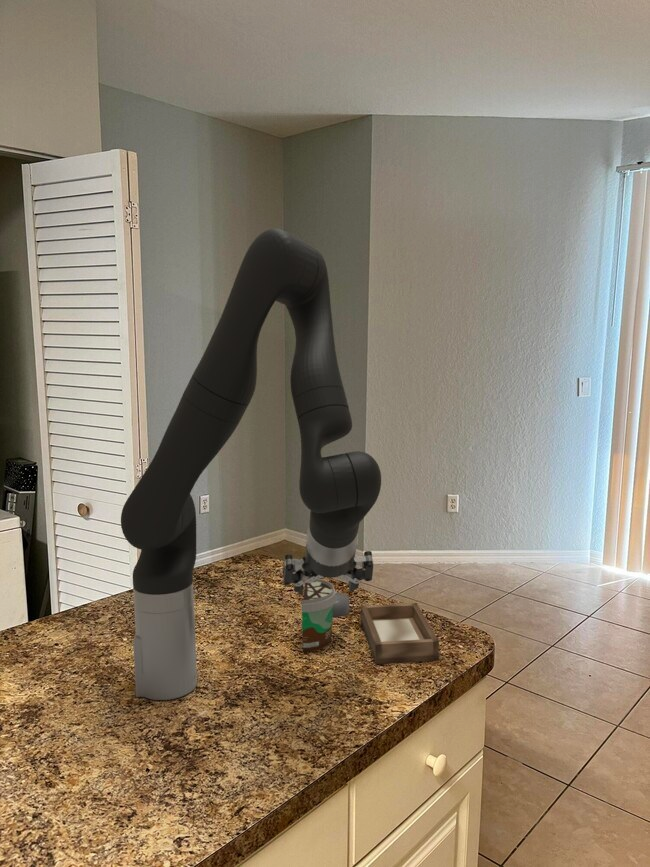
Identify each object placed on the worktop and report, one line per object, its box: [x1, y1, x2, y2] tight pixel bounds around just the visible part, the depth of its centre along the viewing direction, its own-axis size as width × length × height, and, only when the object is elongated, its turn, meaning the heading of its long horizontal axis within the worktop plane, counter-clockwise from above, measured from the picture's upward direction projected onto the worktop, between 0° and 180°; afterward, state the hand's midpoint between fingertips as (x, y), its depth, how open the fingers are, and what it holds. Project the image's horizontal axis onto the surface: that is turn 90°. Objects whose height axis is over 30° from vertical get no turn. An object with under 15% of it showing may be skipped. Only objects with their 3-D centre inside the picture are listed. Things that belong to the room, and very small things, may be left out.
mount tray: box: [360, 602, 440, 665], centre depth 127 cm, size 11×17×4 cm, turn 5°
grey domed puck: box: [332, 591, 350, 618], centre depth 141 cm, size 6×6×3 cm
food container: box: [301, 578, 337, 653], centre depth 127 cm, size 12×6×10 cm, turn 179°
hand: (325, 587), depth 116 cm, fingers open, 8 cm apart
